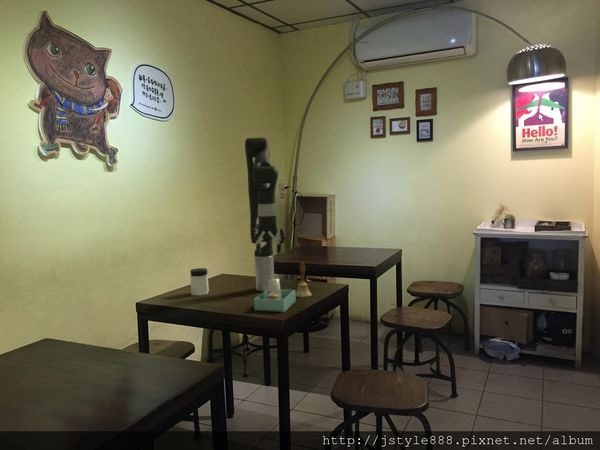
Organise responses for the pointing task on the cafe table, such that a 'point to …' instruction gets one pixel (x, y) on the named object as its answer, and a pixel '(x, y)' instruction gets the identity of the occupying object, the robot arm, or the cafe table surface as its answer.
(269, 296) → the cube
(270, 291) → the cylinder
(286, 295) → the tote
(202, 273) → the jar
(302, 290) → the hand bell
